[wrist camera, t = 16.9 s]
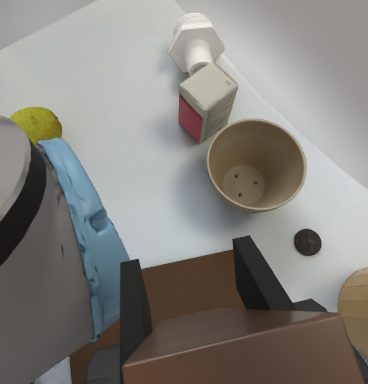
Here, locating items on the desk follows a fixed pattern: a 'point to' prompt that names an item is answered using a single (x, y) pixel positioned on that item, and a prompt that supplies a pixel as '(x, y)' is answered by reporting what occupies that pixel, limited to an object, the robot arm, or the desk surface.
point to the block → (246, 349)
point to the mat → (173, 298)
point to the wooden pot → (356, 309)
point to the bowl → (255, 165)
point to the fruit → (38, 123)
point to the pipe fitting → (195, 43)
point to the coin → (308, 242)
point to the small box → (206, 101)
